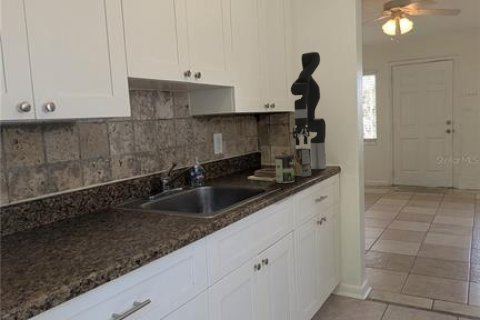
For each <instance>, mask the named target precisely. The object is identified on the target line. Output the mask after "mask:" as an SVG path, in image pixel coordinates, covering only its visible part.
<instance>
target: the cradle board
mask: <svg viewBox="0 0 480 320" xmlns="http://www.w3.org/2000/svg"><path fill="white" fill-rule="evenodd" d="M247 180H252V181H253V180H254V181H265V182H266V181H267V182H274V181H276V168H263V169H258V170H255V171H254V175H251V176H247Z"/></svg>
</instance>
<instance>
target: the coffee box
mask: <svg viewBox="0 0 480 320" xmlns="http://www.w3.org/2000/svg"><path fill="white" fill-rule="evenodd" d="M293 156H294V176H297V177H303V178H304V177H311V176H312V169H311V148H306V147H304V148H303V147H301V148H294V149H293Z"/></svg>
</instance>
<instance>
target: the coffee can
mask: <svg viewBox="0 0 480 320" xmlns="http://www.w3.org/2000/svg"><path fill="white" fill-rule="evenodd" d="M274 159H275V160H274V161H275V169H276V180H275V181H276V183H277V184H278V183H280V184H291V183H295V179H296V178H295V177H296V176H295V164H294V155H292V154H291V155H289V154H286V155H285V154H283V155H276V156H274Z"/></svg>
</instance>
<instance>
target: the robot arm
mask: <svg viewBox="0 0 480 320" xmlns="http://www.w3.org/2000/svg"><path fill="white" fill-rule="evenodd" d="M320 63H321V55H320V53H319V52H318V51H309V52H305V53H302V55H301V65H302V66H301V67H302V70H301V71H300V73H299V75H298V77H297V78H296V80H294V81H293V83H292V84H291V86H290V93H291V94H292V96H301V97H300V98H298V99H295V100H294V112H293V113H294V115H293V116H294V117H293V118H294V126H295V127H292V138H293V139H295V146H300V137H301V136H302V137H303V144H304V145H308V138H309V137H310V133H316V135H315V136H313V137H311V138H310V140H309V141H310V154H311V170H325V169H326V168H327V157H326V140H325V139H326V137H327V135H326V134H327V133H326V131H327V130H326V129H327V125H326V120H325V119H324V118H322V117H316V109H317V106H318V105H319V102H320V100H321V90H320V86H319V83H318V82H317V81H316V80H315V79H314V77H313V75H314V73H315V71H316V70H317V68H318V67H319V65H320Z"/></svg>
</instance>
